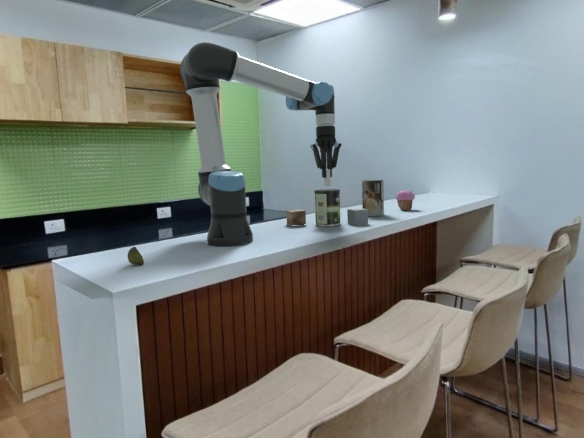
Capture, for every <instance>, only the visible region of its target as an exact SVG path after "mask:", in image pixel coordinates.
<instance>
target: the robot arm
mask: <svg viewBox="0 0 584 438" xmlns="http://www.w3.org/2000/svg"><path fill="white" fill-rule="evenodd" d="M179 72H180V76H181V79H182V80H183V82H184V87H185V93H186V94H187V95H189V96H190V99H191V103H192V109H193V110H192V111H193V117H194V125H195V130H196V137H197V145H198V151H199V156H200V157H199V160H200V165H201V166H200V168H199V170H198V171H197V174H198V180H199V181H198V182H199V183H198V186H197V188H198V189H197V190H198V191H197V192H198V195H199V198H200V200H201V201H202V202H203V203H204V204H206V205H207V206H209V207H210V225H209V227H208V232H207V237H206V242H207V244H208V245H210V246H214V247H233V246H240V245H246V244H250V243H252V242H253V241H254V236H253V231H252V229H251V226H250V224H249V221H248V217H247V216H248V215H247V197H246V194H247V193H246V181H245V180H246V179H245V175H244V174H243V172H241V171H234V170H233V171H232V170H231V169H232V168H231V166H229V165H228V164H227V163H226V155H225V149H224V141H223V132H222V127H221V118H220V112H219V111H220V110H219V104H218V97H217V94H218V93H219V92H220V90H221V84H220V80H221V81H225V82H229V83H230V82H232V81H235V82H239V83H243V84H246V85H249V86H251V87H255V88H258V89H261V90H264V91H267V92H270V93H273V94H277V95H281V96H284V97H285V105H286V107H287V109H288V110H289V111H314V113H315V125H316V127H315V135H316V137H315V138H316V139H315V141H314V142H313V143H311V144H310V148H311V150H312V153H313V156H314V161H315V163H316V167H317V169H319V170H321V178H323V186H324V187H331V178H332V177H333V169H335V168H337V164H338V158H339V154H340V149H341V147H342V146H343V145H342V143H339V142H338V141H337V139H336V127H335V125H336V116H335V115H336V114H335V111H336V110H335V99H336V98H335V89H334V86H333V85H332V84H330V83H328V82H326V81H317V82H315V81H312V80H309V79H305V78H302V77H301V76H300V77H299V76H298V75H294V74H291V73H288V72H286V71H283V70H280V69H277V68H274V67H273V66H269V65H266V64H264V63H260V62H258V61H255V60H251V59H249V58H246V57H243V56H241V55H240V54H239V53H238V51H237V50H235V49H234V50H233V49H231V48H227V47H224V46H222V45H219V44H215V43H212V42H211V43H210V42H198V43H196V44H194V45H193V46H192V47H191V48H190V49H189V50H188V52H187V54H185V56H183V58H182V60H181V63H180V71H179Z"/></svg>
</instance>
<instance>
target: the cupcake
mask: <svg viewBox="0 0 584 438" xmlns="http://www.w3.org/2000/svg"><path fill="white" fill-rule="evenodd" d="M415 198H416V195H415V193H414V192H413V191H412V190H407V189H404V190H400V191H398V192H397V194H396V196H395V200H397V206H398V208H399V209H400V210H404V211H410V210H412V209H413V208H412V207H413V201H414V200H415Z"/></svg>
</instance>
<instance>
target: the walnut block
mask: <svg viewBox="0 0 584 438" xmlns="http://www.w3.org/2000/svg"><path fill="white" fill-rule="evenodd" d="M285 212H286V225H287V224H289V225H292V226H293V225H303V226H305V225H304V224H306V225H307V219H306V218H307V217H306V215H307V214H306V210H303V209H299V208H298V209H290V210H288V209H287V210H285ZM289 225H288V226H289ZM292 226H291V227H292ZM293 227H294V226H293Z"/></svg>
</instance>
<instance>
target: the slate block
mask: <svg viewBox="0 0 584 438" xmlns="http://www.w3.org/2000/svg"><path fill="white" fill-rule="evenodd" d="M346 213H347V216H346V217H347V224H349V225H351V226H363V225H369V216H368V209H363V207H356V208H355V207H354V208H353V207H352V208H347V211H346Z"/></svg>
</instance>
